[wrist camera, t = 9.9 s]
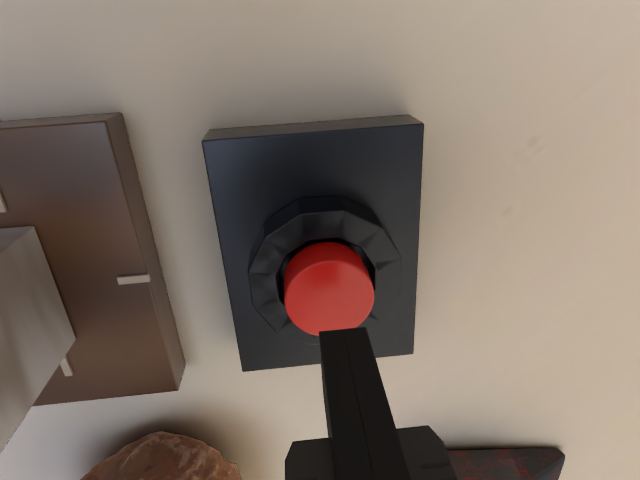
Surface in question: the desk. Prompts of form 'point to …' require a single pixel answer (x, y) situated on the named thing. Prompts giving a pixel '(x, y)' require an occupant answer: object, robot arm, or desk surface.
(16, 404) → the tap handle
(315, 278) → the button
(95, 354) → the panel
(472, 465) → the dark grey rounded block
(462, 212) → the desk surface
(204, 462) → the decorative rock
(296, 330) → the button block
